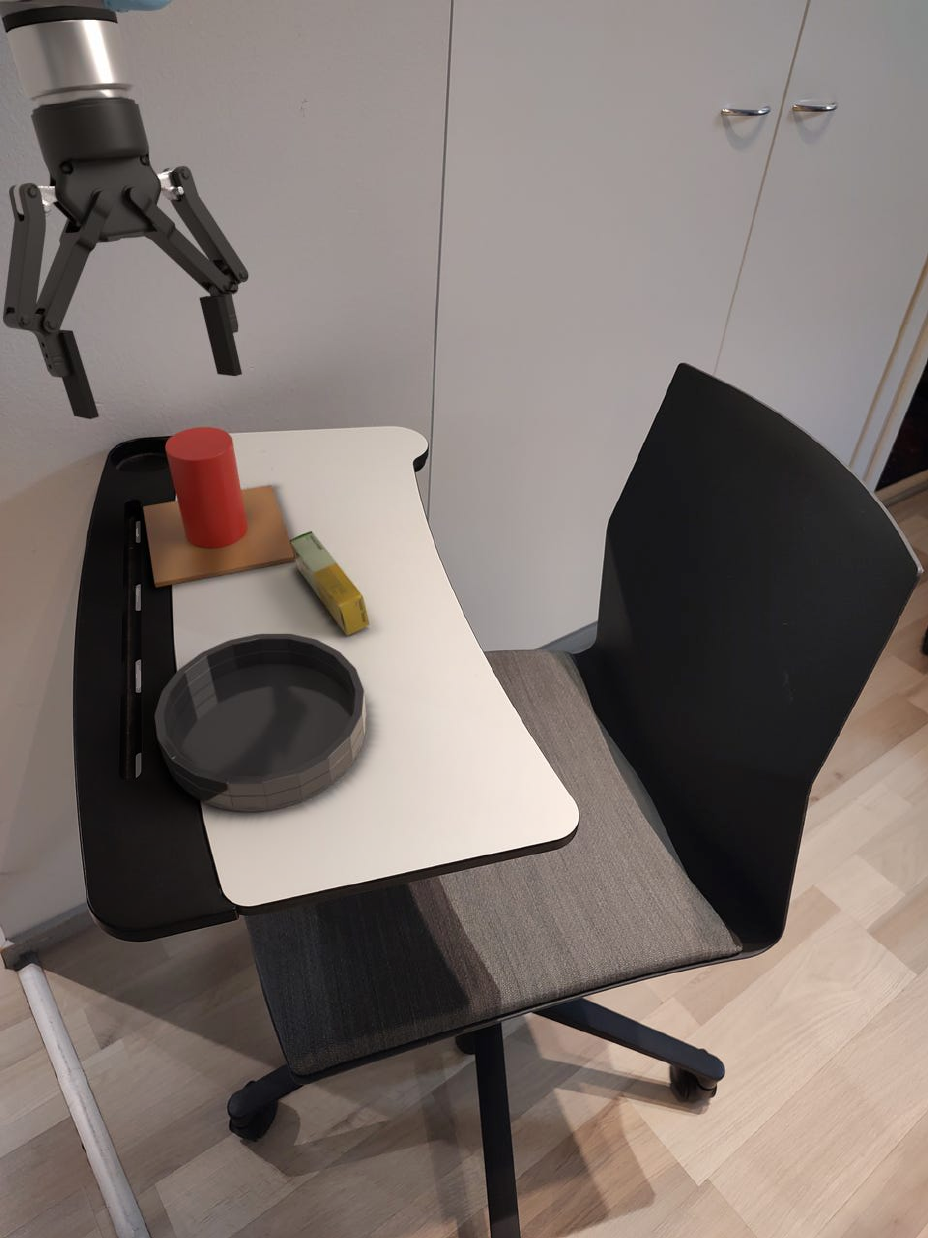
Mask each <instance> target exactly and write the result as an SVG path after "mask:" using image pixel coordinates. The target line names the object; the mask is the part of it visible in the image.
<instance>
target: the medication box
mask: <svg viewBox="0 0 928 1238" xmlns="http://www.w3.org/2000/svg"><path fill="white" fill-rule="evenodd" d="M290 545H291V548H292V551H293V554H294V558H295V561H294V562H295V564H296V568H297V569H298V571H299V572H300V573H301V574H302V576H303V577H304V579H305V580H306V582H307V583H308V584H309V586H310V587H311V589H312V590H313V591H314V593H315V595H316V596H317V597H318V598H319V599H320V601H321V602H322V604H323V605H324V607H325V608H326V609H327V611H328V612H329V613H330V615H331V616H332V618H333V619H334V620H335V622H336V623H337V624H338V626H339V628H341V631H343V632H344V634H345V635H346V636H349V635H351V634H354V633H357V632H359V631H360V630H362V629H364V628H366V627H368V626H370V620H369V616H368V611H367V607H366V603H365V602H366V601H365V599H364V595H363V593H361V591H360V590H359V589H358V588H357V586H356V585H355V583H354V582H353V581H352V580H351V579H350V577H349V576H348V575H347V573H346V572H345V571H344V570H343V569H342V567H341V566H340V564H339V563H338V562H337V561H336V560H335V558H334V557H333V556H332V555H331V553H330V552H329V551H328V550H327V547H325V546H324V544H323V543H322V542H321V541H320V539H319V538H318V537H317V536H316V534H315V533H314V532H313V531H312V530H309V531H307V532H304V533H302V534H300V535H297V536H295V537H293V538H291V539H290Z"/></svg>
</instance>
